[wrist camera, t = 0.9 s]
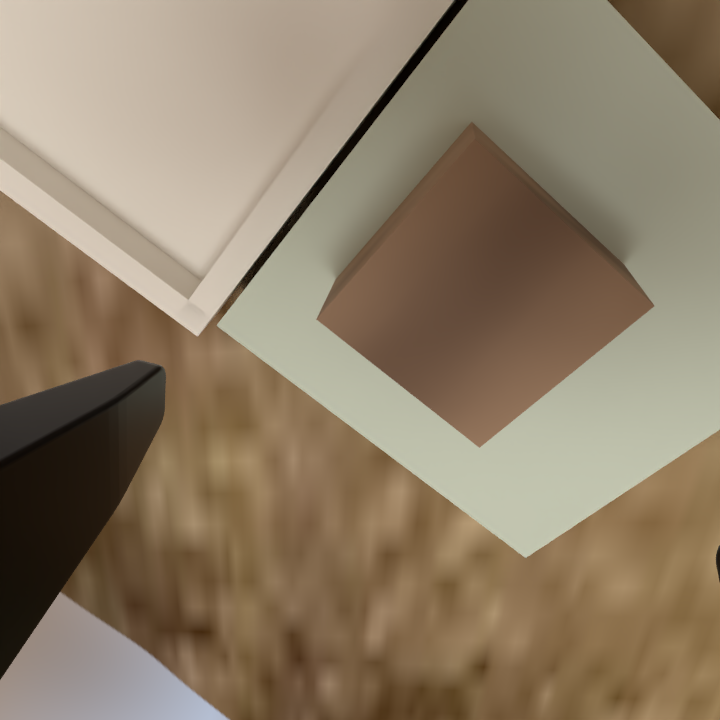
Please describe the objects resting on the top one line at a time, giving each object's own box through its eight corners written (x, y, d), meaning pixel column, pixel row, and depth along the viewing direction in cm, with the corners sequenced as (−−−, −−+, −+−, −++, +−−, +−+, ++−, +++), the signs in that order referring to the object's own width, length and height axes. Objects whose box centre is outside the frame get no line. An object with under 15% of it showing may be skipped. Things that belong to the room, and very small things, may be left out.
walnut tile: (624, 264, 17) (654, 306, 15) (475, 393, 20) (479, 447, 17) (471, 121, 16) (474, 139, 13) (335, 279, 19) (316, 319, 16)
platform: (839, 273, 19) (899, 310, 17) (518, 504, 26) (525, 557, 23) (519, -63, 16) (530, -81, 14) (244, 291, 23) (216, 325, 20)
